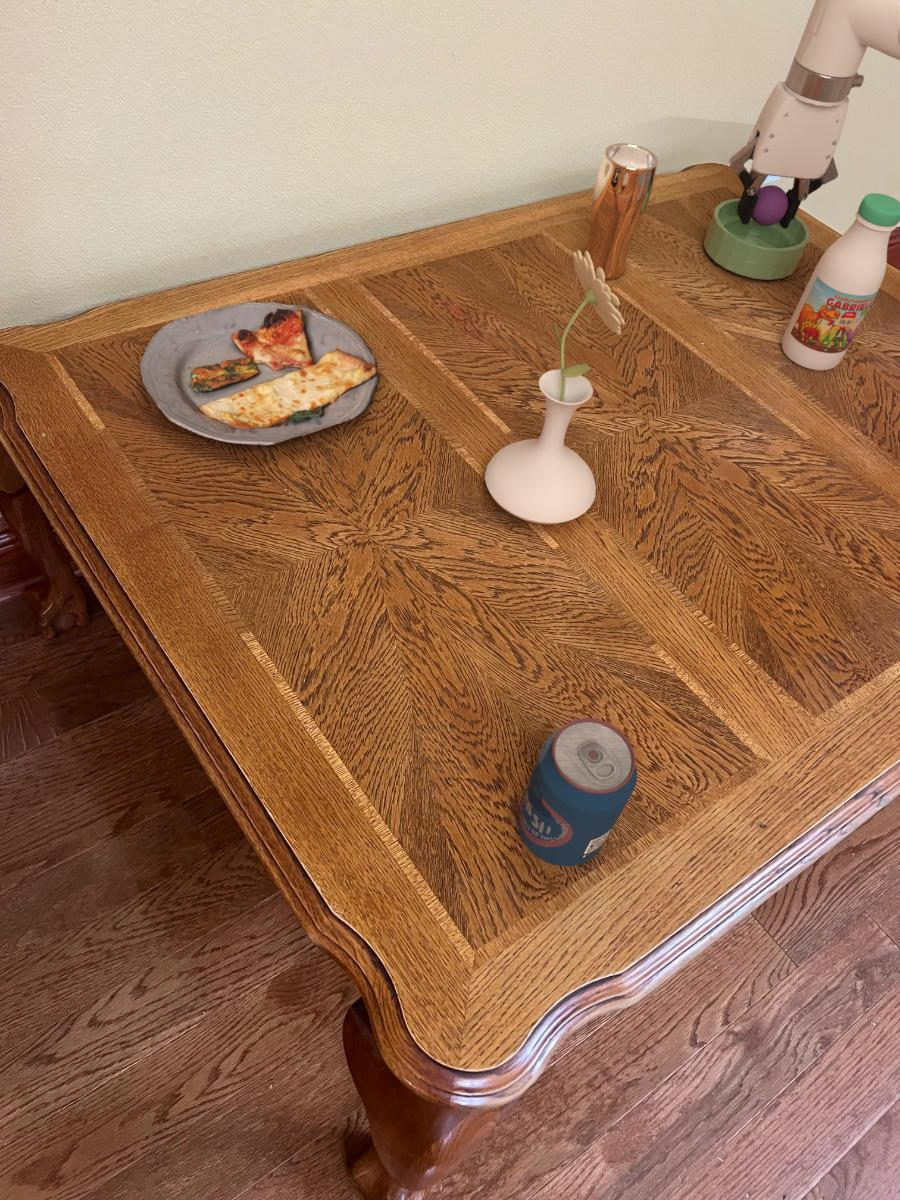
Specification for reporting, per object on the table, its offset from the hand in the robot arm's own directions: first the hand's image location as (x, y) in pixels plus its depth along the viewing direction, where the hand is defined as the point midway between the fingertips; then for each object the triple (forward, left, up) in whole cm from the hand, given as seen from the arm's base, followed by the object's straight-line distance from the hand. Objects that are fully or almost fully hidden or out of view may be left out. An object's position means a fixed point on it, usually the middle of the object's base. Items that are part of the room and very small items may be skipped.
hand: (762, 220), depth 128 cm
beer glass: (+22, +6, -6) cm, 23 cm away
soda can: (+37, +87, -6) cm, 95 cm away
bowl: (0, 0, -6) cm, 6 cm away
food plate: (+64, +35, -6) cm, 73 cm away
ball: (0, 0, +2) cm, 2 cm away
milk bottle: (-3, +22, -6) cm, 23 cm away
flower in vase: (+35, +49, -6) cm, 60 cm away
